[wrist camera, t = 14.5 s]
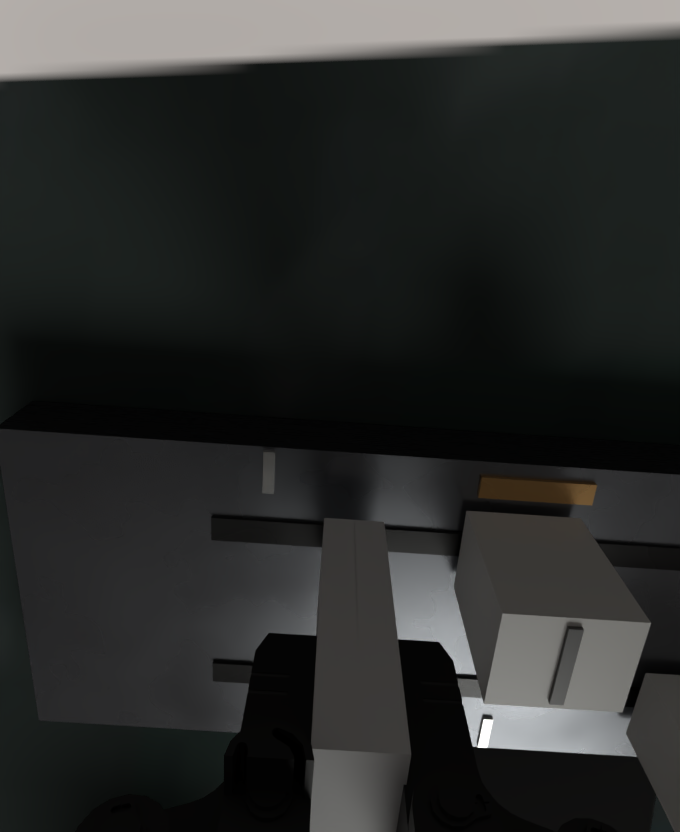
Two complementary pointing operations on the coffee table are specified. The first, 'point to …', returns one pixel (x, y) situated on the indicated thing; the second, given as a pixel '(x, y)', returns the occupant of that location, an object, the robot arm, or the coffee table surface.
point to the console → (295, 551)
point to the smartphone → (568, 787)
